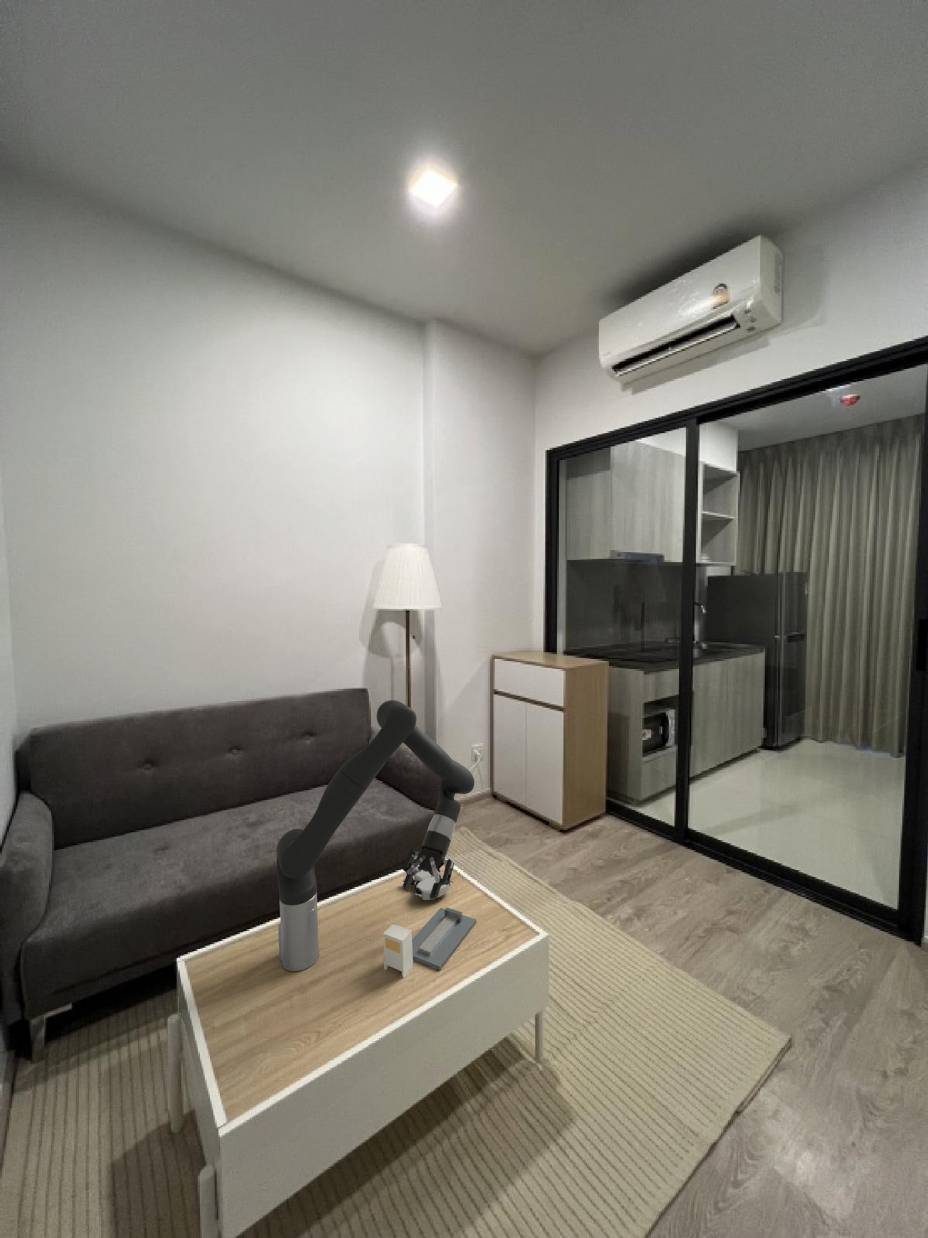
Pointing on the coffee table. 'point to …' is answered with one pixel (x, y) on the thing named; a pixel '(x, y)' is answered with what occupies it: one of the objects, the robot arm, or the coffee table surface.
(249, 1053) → the coffee table surface
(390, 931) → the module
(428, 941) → the rail
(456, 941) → the rail board
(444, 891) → the robot toy
